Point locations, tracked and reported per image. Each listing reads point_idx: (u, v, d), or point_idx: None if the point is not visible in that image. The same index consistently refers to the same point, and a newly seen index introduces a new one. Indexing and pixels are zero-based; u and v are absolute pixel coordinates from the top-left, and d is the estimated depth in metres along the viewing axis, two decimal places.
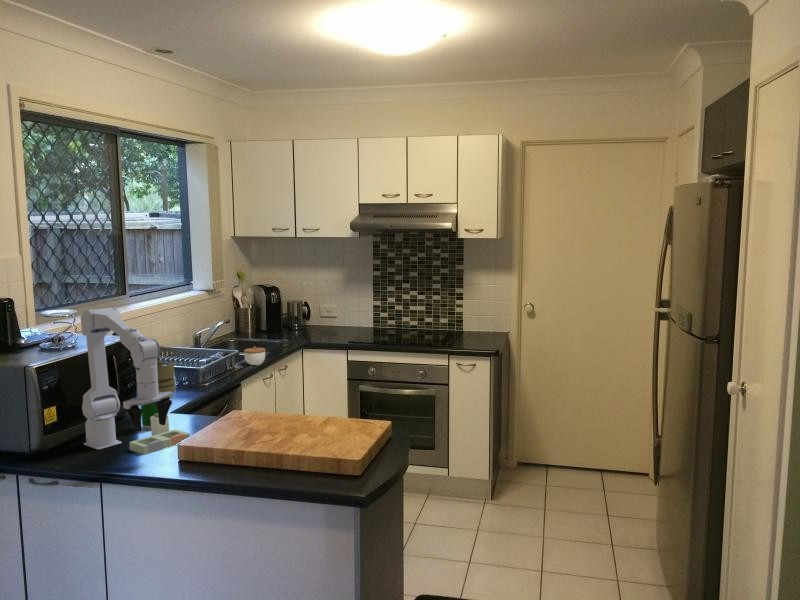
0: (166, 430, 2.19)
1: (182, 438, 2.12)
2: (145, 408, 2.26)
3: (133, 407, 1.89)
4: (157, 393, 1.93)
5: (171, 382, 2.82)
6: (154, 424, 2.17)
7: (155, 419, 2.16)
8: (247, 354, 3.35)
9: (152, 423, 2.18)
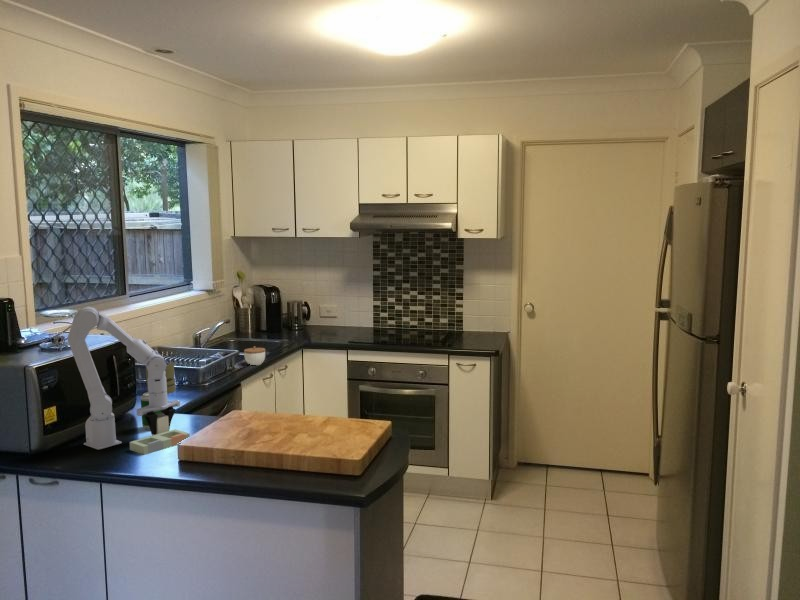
0: (166, 430, 2.19)
1: (182, 438, 2.12)
2: None
3: (149, 413, 2.15)
4: (166, 401, 2.18)
5: (171, 382, 2.82)
6: None
7: None
8: (247, 354, 3.35)
9: None
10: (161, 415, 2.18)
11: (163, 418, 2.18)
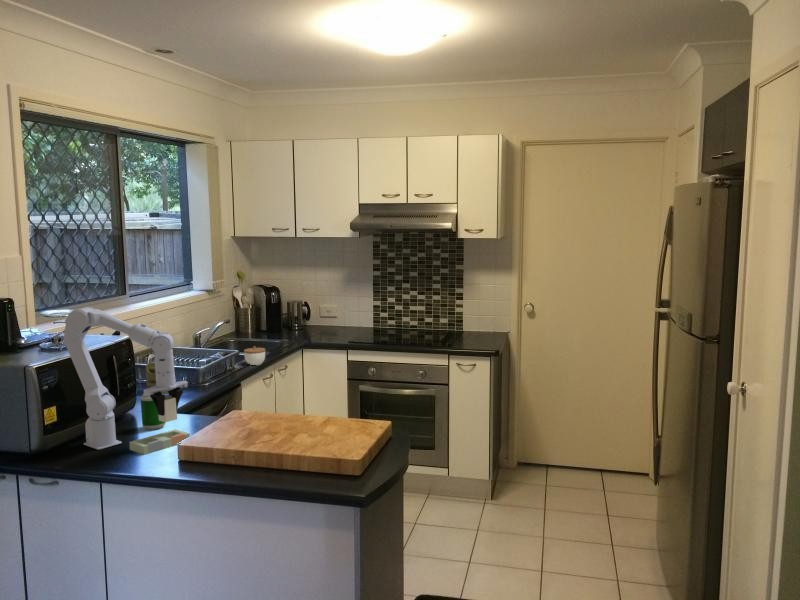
0: (174, 412, 2.14)
1: (182, 438, 2.12)
2: (145, 408, 2.26)
3: (157, 393, 2.10)
4: (174, 382, 2.13)
5: None
6: None
7: None
8: (247, 354, 3.35)
9: None
10: (168, 397, 2.13)
11: (170, 400, 2.13)
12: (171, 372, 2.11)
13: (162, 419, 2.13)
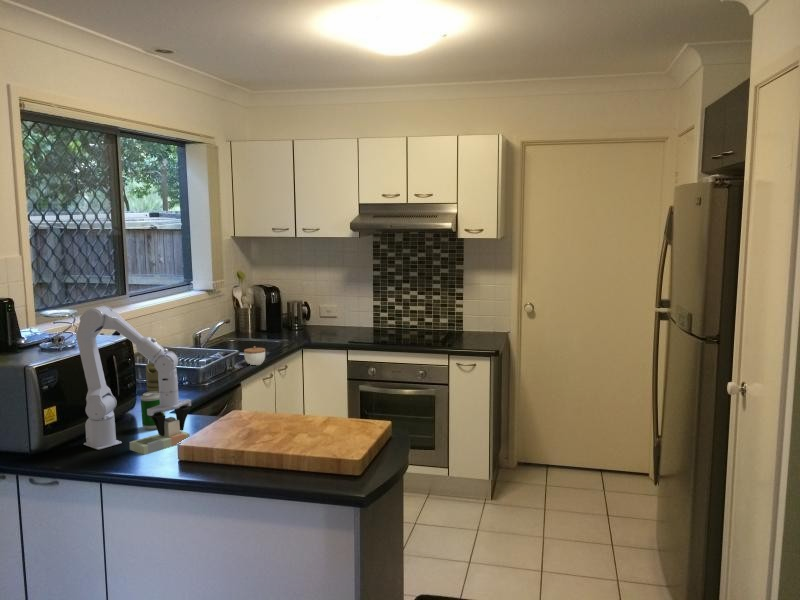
0: None
1: (182, 438, 2.12)
2: (145, 408, 2.26)
3: (157, 414, 2.08)
4: (177, 401, 2.12)
5: None
6: (164, 428, 2.12)
7: (166, 424, 2.11)
8: (247, 354, 3.35)
9: None
10: (172, 420, 2.12)
11: (174, 423, 2.12)
12: (175, 391, 2.11)
13: None
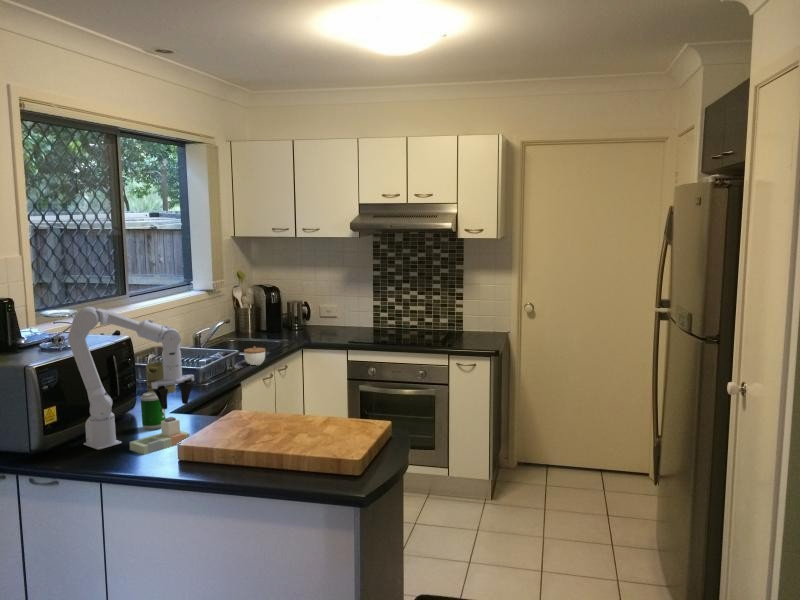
0: None
1: (182, 438, 2.12)
2: (145, 408, 2.26)
3: (160, 387, 2.14)
4: (181, 375, 2.18)
5: None
6: (164, 428, 2.12)
7: (166, 424, 2.11)
8: (247, 354, 3.35)
9: (163, 428, 2.12)
10: (172, 420, 2.12)
11: (174, 423, 2.12)
12: (178, 366, 2.17)
13: None
